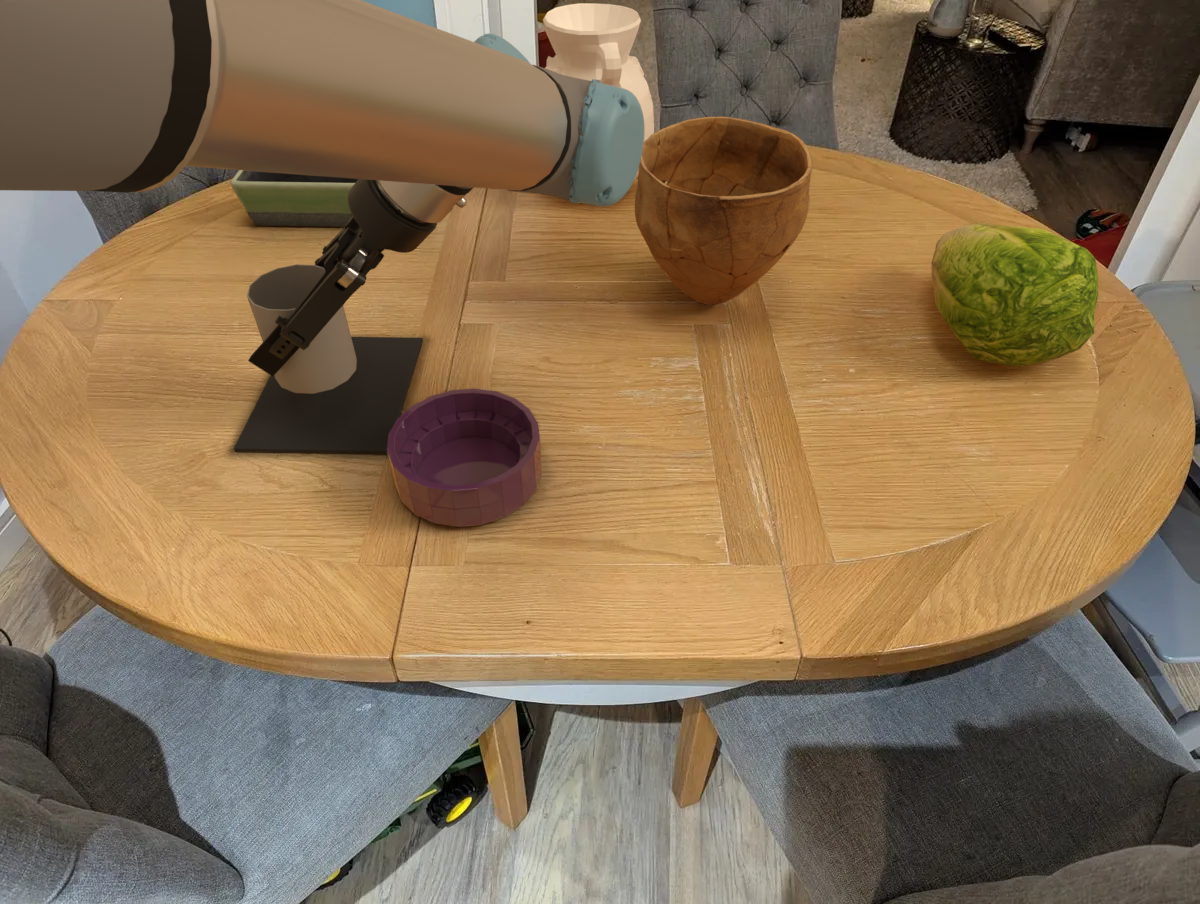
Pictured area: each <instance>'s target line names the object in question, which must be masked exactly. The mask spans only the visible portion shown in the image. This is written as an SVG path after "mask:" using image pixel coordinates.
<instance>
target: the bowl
mask: <svg viewBox="0 0 1200 904" xmlns="http://www.w3.org/2000/svg"><path fill="white" fill-rule="evenodd" d="M812 172H813V158H812V154H811V152H810V150H809V148H808V146H807V144H806V143H805V142H804V141H803V140H802V138H800V137H799V136H798V135H796V134H794V133H792V132H790V131H789V130H786V129H782V128H780V127H775V126H772V125H770V124H769V125H768V124H765V123H762V122H759V121H755V120H751V119H744V118H739V117H738V118H736V117H730V116H724V115H723V116H722V115H720V116H702V117H697V118H690V119H686V120H685V119H684V120H683V121H679V122H677V123H673V124H671V125H667V126H666V127H663V128H661V129H659V130H657V131H656V132H654V134H652V135H651V136H650V137H649V138H648V139H647V140H645V141H644V143H643V150H642V155H641V160H640V164H639V175H638V177H637V183H636V190H635V196H634V215H635V216H634V217H635V221H636V225H637V228H638V230H639V233H641V236H642V238H643V240H644V242H645V244H646V245H647V248H648V249H649V251H650V253H651V255H652V257H653V259H654V261H655V262H656V263H657V265H658V266H659V267H660V268H661V270H662V271H663V272H664V273H665V275H667V277H668V278H669V280H670V281H671V282H672V283H673V284H674V285H675V286H676V287H677V289H678V290H679V291H680V292H682V293H683V294H684V295H686V296H688V297H689V298H690V299H692V300H693V301H695V302H697V303H701V304H704V305H719V304H723V303H726V302H728V301H730V300H732V299H735V298H736V297H739V296H740V294H742V293H743V292H745V291H746V290H747V289H748V288H749V287H751V286H752V285H753V284H755V283H756V282H757V281H759V280H760V279H761V278H762V277H763V276H765V275H766V274H767V273H768V272H769V271H771V269H772V268H773V267H774V266H775V265H776V264H777V263H778V262H779V261H780V259H781V258H782V257H783V256H784V255H785V254H786V253H787V252H788V251H789V249H790V248H791V246H793V244H794V243H795V241H796V240H797V238H798V237H799V235H800V233H801V232H802V230H803V228H804V226H805V223H806V221H807V218H808V215H809V214H808V213H809V209H810V203H811V202H810V198H811V197H810V187H811V186H810V185H811V176H812ZM666 182H667V183H666Z"/></svg>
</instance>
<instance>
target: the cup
mask: <svg viewBox="0 0 1200 904" xmlns="http://www.w3.org/2000/svg"><path fill="white" fill-rule="evenodd" d="M324 271H325V269H324V268H322V267H319V266H316V265H315V264H297V263H296V264H292V265H286V266H281V267H277V268H275V269H272V270H270V271H267V272H264V273H263V274H260V275H259V276H258V277H257V278H256V279H255V280H253V281H252V282H251V283H250V284H249V285H248V289H247V294H246V298H247V300H248V303H249V306H250V309H251V312H252V315H253V318H254V320H255V324H256V326H257V327H256V328H257V330H258V332H259V335H260V339H261V341H262V343H263V342H264V341H265V339H266V338H267V337H268V336H269V335H270V334H271V333H272V332H273V330H274V329H275V328H276V327H277V326H278V324H276V323H275V321H276V319H277V318H278V316H281V317H282V318H283V319H284V318H286V319H288V318H289V316H290V315H291V314H292V312H293V311H294V310H295V309H296V307H297V306H298V305H299V303H300V302H301V301H302V300H303V298H304V297H305V296H306V294H307V293H308V292H309V291H310V289H311V288H312V287H313V285H314V284H315V283H316V282H317V280H318V279H319V278H320V276H321V275H322V274H323V273H324ZM351 337H352V335H351V330H350V326H349V323H348V319H347V315H346V312H345V307H344V305H343V306H342V307H341V308H340V309H339V310H338V311H337V313H336V314H335V315H334V316H333V317H332V318H331V320H330V321H329V322H328V323H327V324H326V325H325V327H324V328H323V329H322V330H321V331H320V332H319V334H318V335H317V336H316V337H315V338H314V339H313V341H312V342H311V343H310V345H309V347H308V348H306V349H305V350H302V349H301V348H299V349H298V350H297V351H296V352H295V353H294V355H293V356H292V357H291V358H290V359H289V360H288V361H287V362H286V363H285V364H284V365H283V366H282V367H281V368H280V370H279V371H278V372H277V373H276V374H275V375H274V376H275V379H276V380H277V381H278V383H279V384H280V386H281V387H282V388H284V389H287V390H289V391H292V392H294V393H311V394H314V393H318V392H322V391H326V390H331V389H333V388H335V387H337V386H339V385H340V384H342V383H344V382H346V381H348V379H349V378H350V377H351V376H352V374H353V373H354V372H355V371H356V364H357V358H356V354H355V350H354V346H353V342H352V338H351Z"/></svg>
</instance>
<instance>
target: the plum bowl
mask: <svg viewBox="0 0 1200 904" xmlns="http://www.w3.org/2000/svg"><path fill="white" fill-rule="evenodd" d="M540 435H541V434H540V427H539V422H538V420H537V419H536V417H535V415H534V413H533V412H532V411H531V409H530V408H529V407H527V406H526V405H525V404H524V403H522V402H521V401H520V400H518V399H517V398H516V397H514V396H510V395H507V394H505V393H502V392H500V391H498V390H497V391H496V390H490V389H483V388H482V389H481V388H463V389H451V390H447V391H444V392H440V393H436V394H432V395H430V396H428V397H426V398H424V399H422V400H420V401H419V402H416V403H415V404H413V405H411V406H410V407H409V408H408V409H407V410H406V411H404V412H403V413H401V416H400V417H399V418H398V419H397V420H396V422H395V424H394V426H393V427H392V429H391V431H390V433H389V435H388V444H387V453H388V454H387V456H388V462H389V465H390V469H391V473H392V477H393V482H394V486H395V489H396V491H397V493H398V496H399V499H400V501H401V503H402V504H403V505H404V506H405V507H407V508H408V509H409V510H410V512H412V514H413V515H415V516H417V517H419V518H422V519H424V520H426V521H428V522H430V523H432V524H438V525H442V526H443V525H444V526H451V527H456V528H457V527H458V528H461V527H462V528H463V527H472V526H483V525H485V524H489V523H492V522H495V521H497V520H500V519H503V518H506V517H507V516H509V515H511V514H512V513H514V512H516V511H517V510H518V509H520V508H522V507H523V506H524V505H526V503H527V502H528V500H529V499H530V498H531V497H532V496H533V494H534V493H536V491H537V490H538V487H539V484H540V481H541V478H542V474H543V470H542V469H543V468H542V453H541V437H540Z"/></svg>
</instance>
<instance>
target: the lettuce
mask: <svg viewBox="0 0 1200 904" xmlns="http://www.w3.org/2000/svg"><path fill="white" fill-rule="evenodd" d="M931 280H932V284H933V288H934V304H935V306H936V308H937V310H938V312H939V313H940V314H941V316H942V318H943V319H944V321H945V322H946V324H947V325H948V327H949V329H950V330H951V332H952V333H953V335H954V336H955V338H956V339H957V340H958V341H959V343H960V344H961V345H962V346H963V347H964V348H965V350H966V351H967V352H968V353H969V355H971V357H972V358H973V359H974V360H976V361H977V360H978V361H981V362H986V363H989V364H995V365H1002V366H1003V365H1004V366H1010V367H1011V366H1012V367H1022V366H1030V365H1031V366H1032V365H1039V364H1042V363H1045V362H1046V363H1047V362H1049V361H1052V360H1056V359H1060V358H1061V357H1064V356H1067V355H1069V354H1071V353H1074V352H1076V351H1079V350H1081V348H1083V346H1084V345H1085V344H1086V343H1087V342H1088V341H1089V340H1090V338H1092V337H1093V335H1094V334H1095V312H1096V307H1097V303H1098V300H1099V299H1098V298H1099V272H1098V266H1097V258H1096V257H1094V255H1093V254H1092V253H1091V252H1090V251H1089V250H1088V249H1087V248H1086V247H1083V246H1082V245H1080V244H1077V243H1075V242H1073V241H1071V240H1068V239H1066V238H1063V237H1062V236H1059V235H1057V234H1055V233H1053V232H1050V231H1049V230H1047V229H1044V228H1036V227H1030V226H1029V227H1027V226H1019V225H1018V226H1017V225H1003V224H996V223H995V224H994V223H987V222H977V223H969V224H965V225H961V226H958V227H956V228H954V229H952V230H950V231H947V232H945V234H943V235H942V236H941V237H940V238H939V239H938V240H937V241H936V244H935V249H934V252H933V255H932V259H931Z"/></svg>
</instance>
